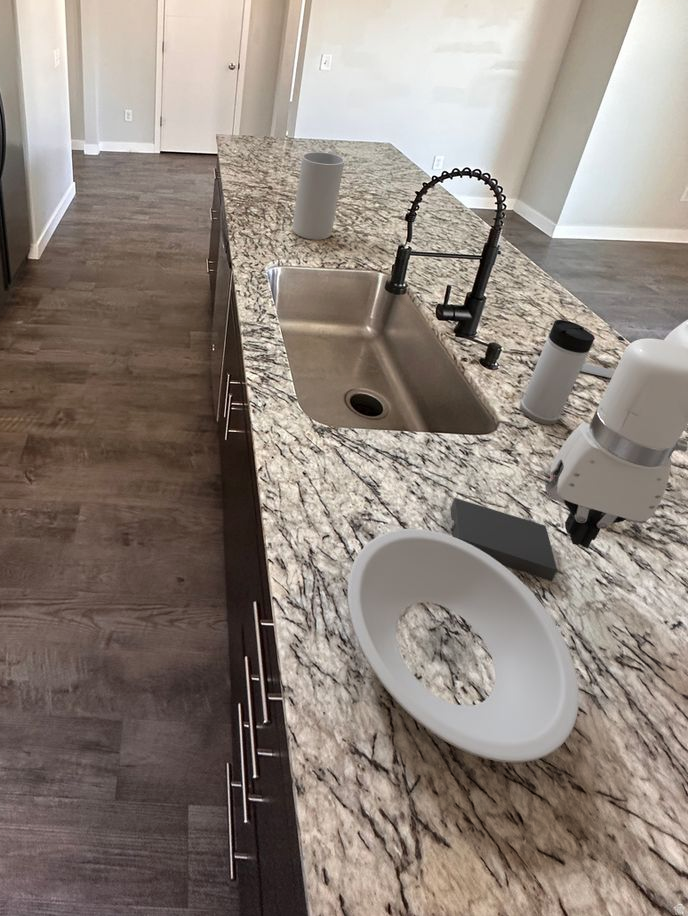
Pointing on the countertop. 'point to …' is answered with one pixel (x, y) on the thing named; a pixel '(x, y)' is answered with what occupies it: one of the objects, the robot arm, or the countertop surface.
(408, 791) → the countertop surface
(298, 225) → the cylinder vase
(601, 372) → the chef's knife
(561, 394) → the travel mug
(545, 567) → the dark gray rectangular block
